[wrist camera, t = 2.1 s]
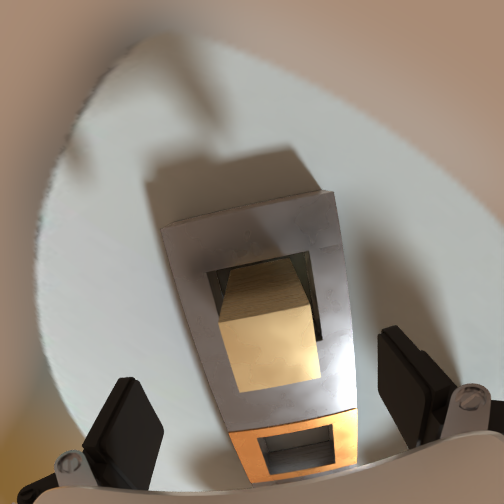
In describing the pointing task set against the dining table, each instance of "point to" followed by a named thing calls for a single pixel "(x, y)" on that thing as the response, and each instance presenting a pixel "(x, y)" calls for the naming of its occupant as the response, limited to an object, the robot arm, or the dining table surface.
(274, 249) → the grey flat rectangular block
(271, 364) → the wooden block
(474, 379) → the dining table surface
